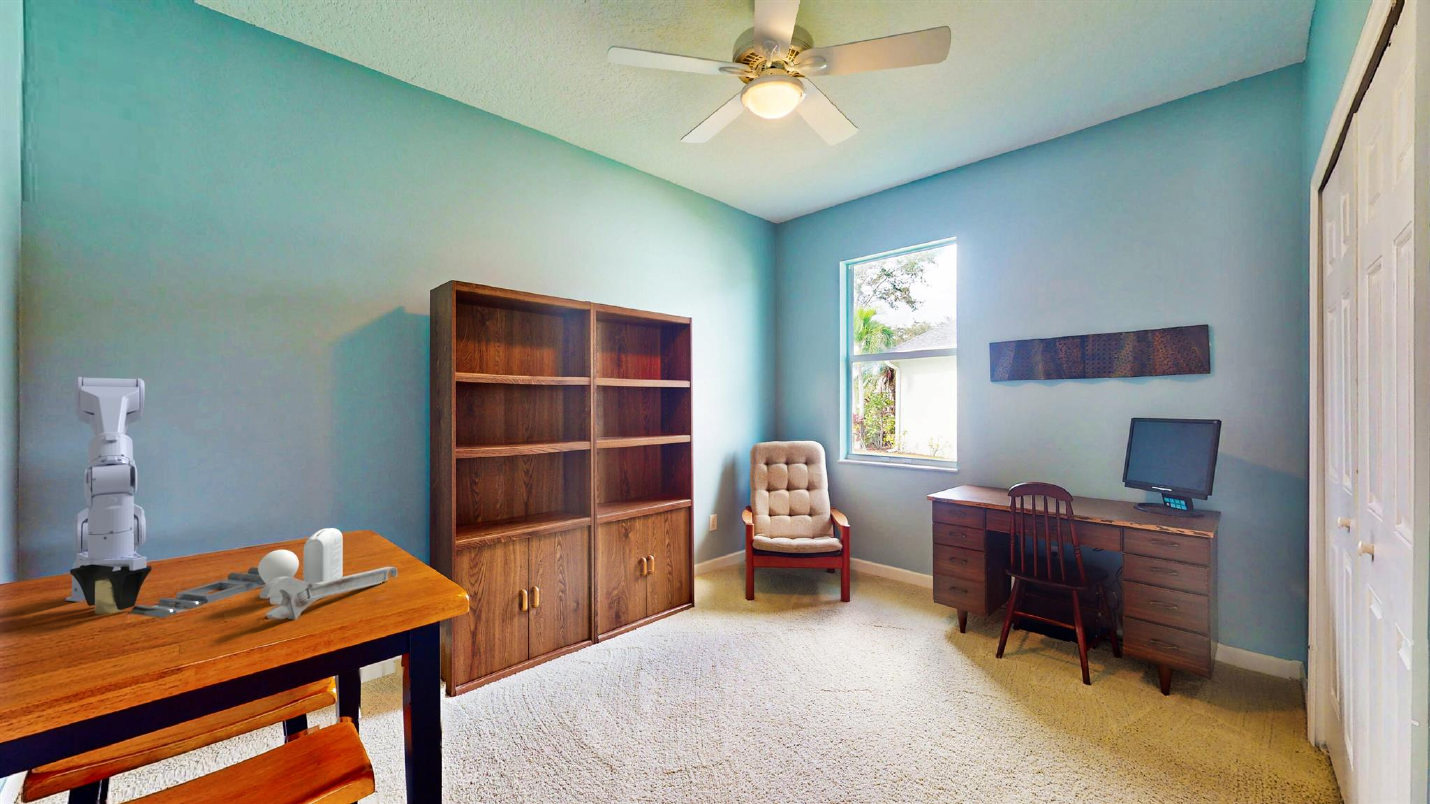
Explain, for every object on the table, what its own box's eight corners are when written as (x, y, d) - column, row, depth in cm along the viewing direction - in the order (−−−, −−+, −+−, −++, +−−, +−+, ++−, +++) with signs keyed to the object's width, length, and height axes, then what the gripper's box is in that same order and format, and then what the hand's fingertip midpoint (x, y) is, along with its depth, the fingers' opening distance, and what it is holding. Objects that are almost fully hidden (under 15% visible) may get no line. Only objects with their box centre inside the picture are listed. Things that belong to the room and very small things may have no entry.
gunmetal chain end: (175, 605, 108) (175, 588, 108) (258, 580, 123) (257, 565, 123) (208, 609, 106) (208, 592, 106) (288, 584, 121) (288, 568, 121)
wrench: (396, 592, 125) (263, 629, 96) (389, 591, 125) (254, 629, 96) (399, 554, 126) (269, 581, 96) (392, 554, 126) (260, 580, 97)
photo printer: (323, 581, 122) (323, 524, 122) (345, 580, 123) (345, 523, 123) (299, 597, 112) (299, 535, 112) (323, 596, 113) (324, 534, 113)
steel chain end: (128, 619, 101) (128, 607, 101) (221, 591, 116) (221, 581, 116) (162, 624, 99) (162, 612, 99) (253, 595, 114) (253, 584, 114)
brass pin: (89, 619, 101) (89, 580, 101) (117, 611, 105) (117, 573, 105) (104, 622, 100) (104, 582, 100) (132, 613, 104) (132, 575, 104)
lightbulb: (255, 608, 107) (255, 550, 107) (294, 600, 111) (295, 544, 111) (261, 617, 102) (261, 556, 102) (302, 608, 107) (302, 550, 107)
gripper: (53, 533, 100) (53, 610, 100) (111, 539, 97) (111, 618, 97) (105, 525, 107) (105, 596, 107) (160, 529, 103) (160, 603, 103)
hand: (111, 606), depth 102 cm, fingers open, 7 cm apart
